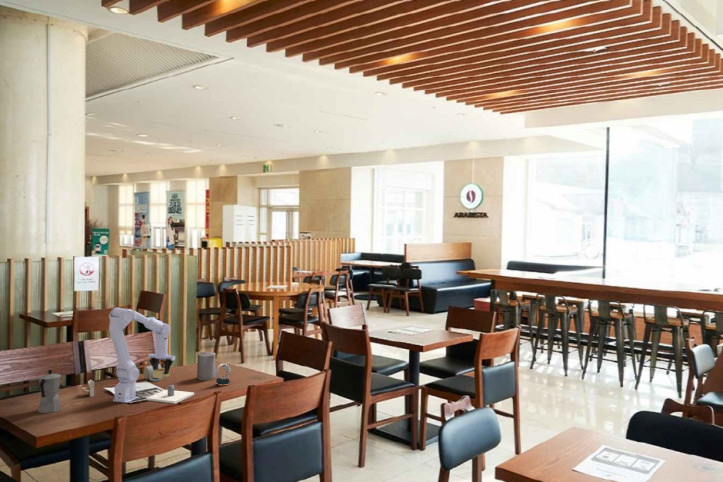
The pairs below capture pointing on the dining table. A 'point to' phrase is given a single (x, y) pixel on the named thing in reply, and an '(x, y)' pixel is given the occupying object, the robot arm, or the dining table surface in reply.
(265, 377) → the dining table surface
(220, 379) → the watch
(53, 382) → the coffeepot
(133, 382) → the robot arm
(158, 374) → the wooden square ring
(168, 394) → the post stand
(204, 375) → the pillar candle
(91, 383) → the architectural model
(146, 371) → the ceramic mug
